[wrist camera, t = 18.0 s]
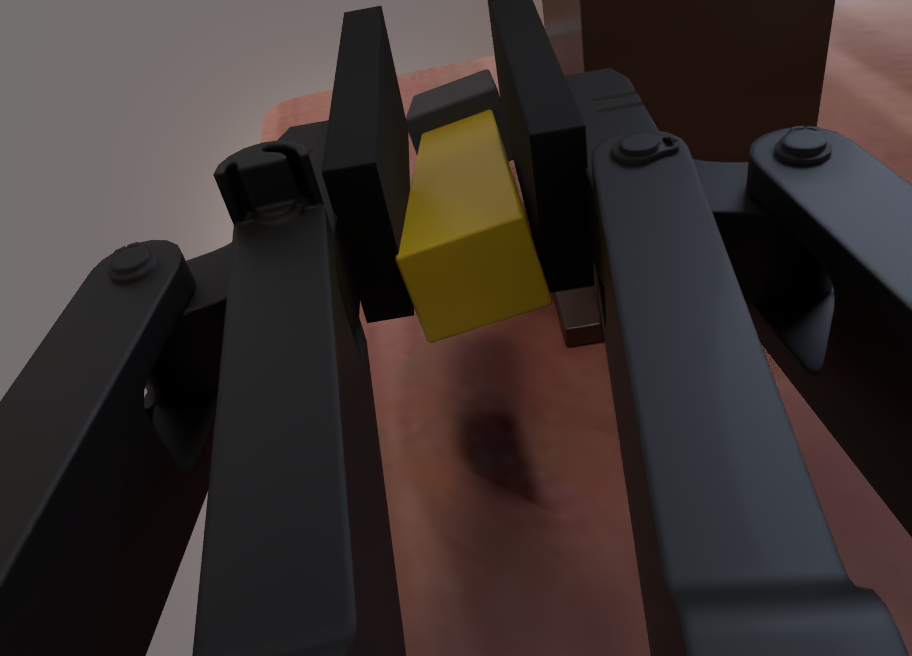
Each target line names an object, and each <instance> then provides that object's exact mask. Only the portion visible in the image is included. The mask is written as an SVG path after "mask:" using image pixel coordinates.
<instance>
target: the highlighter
mask: <svg viewBox="0 0 912 656" xmlns="http://www.w3.org/2000/svg"><path fill="white" fill-rule="evenodd" d="M406 123H407V127H408V132H409V135H410V137H411V140H412V143H413V146H414V148H415V151H416V154H417V159H416V164H415V169H414V173H413V178H412V182H411V187H410V194H409V199H408V205H407V210H406V216H405V221H404V227H403V232H402V238H401V243H400V249H399V254H398V255H397V256H396V257H395V262H396V264H397V266H398V269H399V271H400V274H401V276H402V279H403V281H404V284H405V286H406V289H407V291H408V294H409V296H410V299H411V301H412V304H413V306H414V309H415V311H416V313H417V316H418V318H419V321H420V323H421V326H422V328H423V331H424V333H425V336H426V338H427V340H428V341H429V342H430V343H434V342H437V341H440V340H443V339H446V338H449V337H452V336H455V335H458V334H461V333H464V332H468V331H471V330H474V329H477V328H480V327H483V326H486V325H489V324H492V323H495V322H498V321H501V320H505V319H508V318H511V317H514V316H517V315H520V314H523V313H526V312H529V311H532V310H535V309H539V308H542V307H545V306H548V305H550V304H551V303H552V298H551V294H550V291H549V288H548V285H547V282H546V279H545V276H544V273H543V270H542V266H541V263H540V260H539V257H538V254H537V251H536V247H535V244H534V240H533V237H532V234H531V231H530V228H529V224H528V221H527V218H526V215H525V212H524V208H523V205H522V202H521V199H520V196H519V193H518V189H517V186H516V183H515V180H514V177H513V174H512V170H511V167H510V164H509V161H511V160H514V159H513V155H512V151H511V147H510V143H509V139H508V134H507V130H506V126H505V122H504V118H503V114H502V107H501V99H500V96H499V93H498V90H497V87H496V85H495V83H494V80H493V78H492V76H491V73H490V71H489V70H488V69H486V70H483V71H480V72H478V73H475V74H472V75H469V76H467V77H464V78H461V79H459V80H456V81H453V82H450V83H448V84H445V85H442V86H440V87H437V88H434V89H432V90H429V91H426V92H423V93H421V94H418V95H415V96H414V97H413V100H412V103H411V105H410V108H409V111H408V114H407V116H406Z"/></svg>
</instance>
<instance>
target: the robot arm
mask: <svg viewBox="0 0 912 656" xmlns="http://www.w3.org/2000/svg"><path fill="white" fill-rule="evenodd" d="M488 6H489V14H490V22H491V30H492V37H493V45H494V53H495V61H496V68H497V76H498V84H499V91H500V99H501V107H502V114H503V118H504V122H505V126H506V130H507V134H508V139H509V143H510V147H511V151H512V155H513V159H514V163H515V167H516V171H517V175H518V179H519V183H520V187H521V192H522V196H523V200H524V204H525V208H526V212H527V216H528V220H529V224H530V228H531V232H532V236H533V240H534V244H535V247H536V251H537V254H538V257H539V260H540V263H541V266H542V270H543V273H544V276H545V279H546V282H547V285H548V288H549V291H550V293H554V292H560V291H566V290H572V289H578V288H584V287H590V286H595V283H594V266H593V262H594V265H595V268H596V271H597V274H598V289H599V308H600V326H601V340H605V346H606V352H607V359H608V366H609V373H610V380H611V387H612V394H613V400H614V407H615V414H616V421H617V428H618V435H619V441H620V448H621V455H622V462H623V469H624V476H625V483H626V489H627V496H628V503H629V510H630V517H631V524H632V530H633V537H634V544H635V551H636V558H637V565H638V572H639V578H640V585H641V592H642V599H643V606H644V613H645V619H646V626H647V633H648V640H649V647H650V654H651V656H909V655H908V652H907V650H906V647H905V645H904V642H903V640H902V637H901V635H900V632H899V630H898V628H897V626H896V624H895V622H894V620H893V618H892V616H891V614H890V612H889V610H888V608H887V606H886V604H885V603H884V602H883V601H882V600H881V598H880V597H879V596H878V595H877V594H876V593H875V592H874V590H873V589H867V588H861V587H856V586H855V585H854V584H853V583H852V581H851V580H850V579H849V577H848V575H847V573H846V571H845V569H844V567H843V564H842V562H841V559H840V556H839V554H838V551H837V548H836V546H835V543H834V540H833V537H832V535H831V532H830V529H829V527H828V524H827V521H826V519H825V516H824V513H823V510H822V508H821V505H820V502H819V500H818V497H817V494H816V491H815V489H814V486H813V483H812V481H811V478H810V475H809V473H808V470H807V467H806V464H805V462H804V459H803V456H802V454H801V451H800V448H799V446H798V443H797V440H796V437H795V435H794V432H793V429H792V427H791V424H790V421H789V419H788V416H787V413H786V410H785V408H784V405H783V402H782V400H781V397H780V394H779V392H778V389H777V386H776V383H775V381H774V378H773V375H772V373H771V370H770V367H769V364H768V362H767V359H766V356H765V354H764V351H763V348H762V346H761V344H762V345H763V347H764V348H765V349H766V350H767V352H768V353H769V354H770V356H771V357H772V358H773V359H774V361H775V362H776V363H777V365H778V366H779V367H780V368H781V370H782V371H783V372H784V374H785V375H786V376H787V377H788V379H789V380H790V381H791V383H792V384H793V385H794V386H795V388H796V389H797V390H798V392H799V393H800V394H801V396H802V397H803V398H804V399H805V401H806V402H807V403H808V405H809V406H810V407H811V408H812V410H813V411H814V412H815V414H816V415H817V416H818V417H819V419H820V420H821V421H822V423H823V424H824V425H825V426H826V428H827V429H828V430H829V432H830V433H831V434H832V435H833V437H834V438H835V439H836V441H837V442H838V443H839V444H840V446H841V447H842V448H843V450H844V451H845V452H846V454H847V455H848V456H849V457H850V459H851V460H852V461H853V463H854V464H855V465H856V466H857V468H858V469H859V470H860V472H861V473H862V474H863V475H864V477H865V478H866V479H867V481H868V482H869V483H870V484H871V486H872V487H873V488H874V490H875V491H876V492H877V493H878V495H879V496H880V497H881V499H882V500H883V501H884V502H885V504H886V505H887V506H888V508H889V509H890V510H891V512H892V513H893V514H894V515H895V517H896V518H897V519H898V521H899V522H900V523H901V524H902V526H903V527H904V528H905V530H906V531H907V532H908V533H909V535H910V536H911V537H912V185H911V184H910V183H909V182H907V181H906V180H905V179H903V178H902V177H901V176H899V175H898V174H896V173H895V172H894V171H892V170H891V169H890V168H888V167H887V166H886V165H884V164H883V163H882V162H880V161H879V160H878V159H876V158H875V157H874V156H872V155H871V154H870V153H868V152H867V151H866V150H864V149H863V148H862V147H860V146H859V145H858V144H856V143H855V142H854V141H852V140H851V139H849V138H847V137H845V136H843V135H841V134H839V133H837V132H834V131H830V130H826V129H821V128H819V127H815V126H807V127H804V126H793V127H791V128H785V129H778V130H775V131H772V132H769V133H767V134H764V135H762V136H760V137H759V138H758V139H757V140H755V141H754V142H753V143H752V145H751V148H750V152H749V161H748V162H710V161H702V160H697V159H692V156H691V154H690V151H689V148H688V146H687V145H686V144H685V142H684V141H683V140H682V139H681V138H679V137H677V136H675V135H673V134H670V133H668V132H662V131H659V130H658V128H657V127H656V125H655V123H654V121H653V120H652V118H651V116H650V114H649V113H648V111H647V109H646V107H645V106H644V104H643V105H642V101H641V99H640V97H639V95H638V94H636V90H635V88H634V87H633V85H632V83H631V82H630V80H629V78H628V77H626V76H624V75H622V74H620V73H618V72H617V71H615V70H613V69H611V68H606V69H600V70H595V71H589V72H583V73H578V74H572V75H567V76H564V74H563V71H562V69H561V67H560V64H559V62H558V59H557V57H556V55H555V52H554V50H553V48H552V45H551V43H550V40H549V38H548V36H547V33H546V31H545V29H544V26H543V24H542V22H541V19H540V17H539V14H538V12H537V10H536V7H535V5H534V3H533V0H488ZM214 177H215V180H216V182H217V185H218V187H219V190H220V192H221V195H222V197H223V200H224V202H225V204H226V207H227V209H228V212H229V214H230V217H231V219H232V222H233V224H234V230H233V240H232V242H231V243H230V244H228V245H226V246H224V247H222V248H220V249H217V250H215V251H213V252H210V253H207V254H204V255H202V256H199V257H196V258H193V259H191V260H188V261H185V258H184V256H183V254H182V252H181V250H180V248H179V247H178V245H176V244H174V243H172V242H169V241H166V240H150V241H146V242H140V243H139V242H136V243H132V244H129V245H127V247H125V246H124V247H122V248H120V249H117V250H116V251H115V252H114V253H113V254H111V255H110V256H108V257H106V258H105V259H103V260H102V261H101V262H100V263H99V264H98V265H97V266H96V267H95V268H94V269H93V270H92V271H91V272H90V274H89V275H88V276H87V278H86V279H85V281H84V282H83V284H82V285H81V286H80V288H79V290H78V291H77V292H76V294H75V295H74V297H73V298H72V299H71V301H70V302H69V304H68V305H67V307H66V308H65V309H64V311H63V312H62V314H61V315H60V317H59V318H58V320H57V321H56V322H55V324H54V325H53V327H52V328H51V330H50V331H49V332H48V334H47V335H46V337H45V338H44V340H43V341H42V342H41V344H40V345H39V347H38V348H37V350H36V351H35V352H34V354H33V356H32V357H31V358H30V360H29V361H28V363H27V364H26V365H25V367H24V368H23V370H22V371H21V373H20V374H19V375H18V377H17V378H16V380H15V381H14V383H13V384H12V385H11V387H10V389H9V390H8V392H7V393H6V394H5V396H4V397H3V398H2V400H1V401H0V656H146V653H147V650H148V648H149V645H150V643H151V640H152V637H153V635H154V632H155V629H156V627H157V624H158V621H159V619H160V616H161V613H162V611H163V608H164V606H165V603H166V600H167V598H168V595H169V592H170V589H171V587H172V584H173V582H174V579H175V576H176V574H177V571H178V568H179V566H180V563H181V561H182V558H183V555H184V553H185V550H186V547H187V545H188V542H189V540H190V537H191V534H192V532H193V529H194V526H195V524H196V521H197V518H198V516H199V513H200V510H201V508H202V505H203V502H204V500H205V497H206V494H207V492H208V500H207V511H206V521H205V531H204V541H203V552H202V563H201V573H200V584H199V593H198V604H197V614H196V624H195V634H194V645H193V656H406V650H405V642H404V634H403V626H402V618H401V610H400V602H399V594H398V587H397V579H396V571H395V563H394V555H393V547H392V539H391V531H390V523H389V515H388V507H387V499H386V491H385V484H384V476H383V468H382V460H381V452H380V444H379V436H378V428H377V420H376V412H375V404H374V396H373V388H372V381H371V373H370V365H369V357H368V349H367V341H366V338H365V335H364V331H363V328H362V325H361V322H360V318H359V309H360V301H361V304H362V308H363V311H364V314H365V317H366V321H367V323H370V322H377V321H383V320H389V319H395V318H401V317H407V316H413V315H414V306H413V304H412V301H411V299H410V296H409V294H408V291H407V289H406V286H405V284H404V281H403V279H402V276H401V274H400V271H399V269H398V266H397V264H396V262H395V257H396V256H397V255H398V254H399V249H400V243H401V238H402V232H403V227H404V221H405V216H406V210H407V205H408V199H409V194H410V173H409V142H408V127H407V123H406V118H405V113H404V109H403V104H402V99H401V95H400V90H399V85H398V81H397V76H396V72H395V67H394V62H393V58H392V53H391V49H390V44H389V39H388V34H387V30H386V26H385V21H384V16H383V12H382V7H381V6H377V7H371V8H366V9H361V10H355V11H350V12H345V13H344V18H343V25H342V32H341V39H340V46H339V53H338V60H337V66H336V73H335V81H334V87H333V94H332V101H331V108H330V115H329V120H327V121H322V122H316V123H311V124H305V125H299V126H294V127H290V128H289V129H288V130H287V131H286V132H285V133H284V134H283V135H282V136H281V137H280V138H279V139H278V140H277V141H272V142H264V143H260V144H257V145H253V146H250V147H247V148H244V149H242V150H240V151H238V152H236V153H235V154H233V155H231V156H229V157H228V158H226V159H225V160H224V161H223V162H222V163H221V164H219V165H218V167H217V169H216V171H215V173H214ZM145 388H146V389H147V391H148V392H147V394H146V396H145V398H144V389H145Z"/></svg>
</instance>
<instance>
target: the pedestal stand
mask: <svg viewBox="0 0 912 656" xmlns="http://www.w3.org/2000/svg"><path fill="white" fill-rule="evenodd" d="M542 3H543V15H544V26H545V31H546V33H547V36H548V38H549V40H550V43H551V45H552V48H553V50H554V52H555V55H556V57H557V59H558V62H559V64H560V67H561V69H562V71H563V74H564V76H567V75H572V74H578V73H583V72H589V71H595V70H600V69H606V68H611V69H613V70H615V71H617V72H618V73H620V74H622V75H624V76H626V77H628V78H629V80H630V82H631V83H632V85H633V87H634V88H635V90H636V94H638V95H639V97H640V99H641V101H642V105H643V104H644V106H645V107H646V109H647V111H648V113H649V114H650V116H651V118H652V120H653V121H654V123H655V125H656V127H657V128H658V130H659V131H662V132H668V133H670V134H673V135H675V136H677V137H679V138H681V139H682V140H683V141H684V142H685V144H686V145H687V146H688V148H689V151H690V154H691V156H692V159H697V160H702V161H710V162H748V161H749V152H750V148H751V145H752V143H753V142H754V141H755V140H757V139H758V138H759V137H760V136H762V135H764V134H767V133H769V132H772V131H775V130H778V129H785V128H791V127H793V126H804V127H807V126H815V127H817V121H818V114H819V107H820V100H821V93H822V86H823V80H824V73H825V66H826V59H827V52H828V45H829V39H830V32H831V25H832V18H833V11H834V4H835V0H542ZM593 266H594V283H595V286H590V287H584V288H578V289H572V290H566V291H560V292H554V293H553V294H554V298H555V302H556V306H557V310H558V313H559V317H560V321H561V325H562V329H563V333H564V337H565V341H566V345H567V347H571V346H577V345H583V344H590V343H596V342H602V341H605V340H601V326H600V308H599V289H598V274H597V271H596V268H595V265H594V262H593Z"/></svg>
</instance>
